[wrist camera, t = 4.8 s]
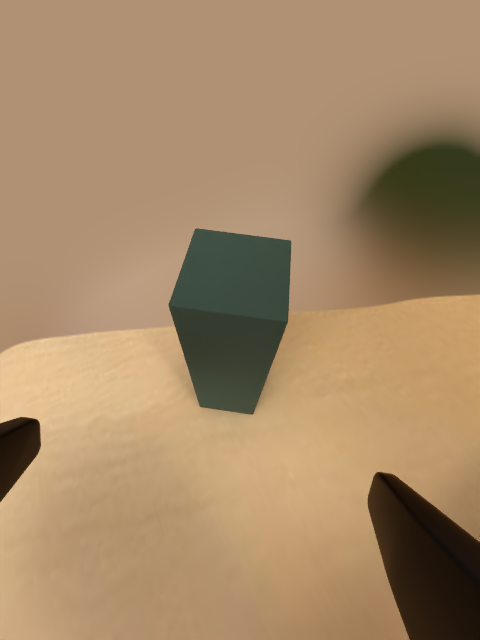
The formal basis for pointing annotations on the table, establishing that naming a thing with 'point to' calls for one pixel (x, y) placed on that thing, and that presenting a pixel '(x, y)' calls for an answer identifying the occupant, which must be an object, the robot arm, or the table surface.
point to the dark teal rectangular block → (231, 314)
